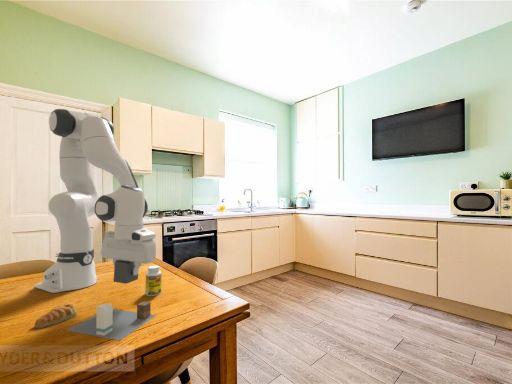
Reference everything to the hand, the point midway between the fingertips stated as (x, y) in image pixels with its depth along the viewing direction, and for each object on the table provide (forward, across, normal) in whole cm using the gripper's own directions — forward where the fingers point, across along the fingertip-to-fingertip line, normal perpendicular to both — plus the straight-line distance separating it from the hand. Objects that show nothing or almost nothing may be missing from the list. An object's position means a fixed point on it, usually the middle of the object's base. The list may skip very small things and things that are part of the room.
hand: (126, 273), depth 85 cm
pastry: (+12, -10, -14) cm, 21 cm away
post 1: (+10, +10, -17) cm, 21 cm away
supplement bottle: (+10, +3, +10) cm, 15 cm away
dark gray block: (+2, 0, 0) cm, 2 cm away
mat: (+10, +8, -12) cm, 17 cm away
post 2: (+10, +13, -6) cm, 18 cm away
